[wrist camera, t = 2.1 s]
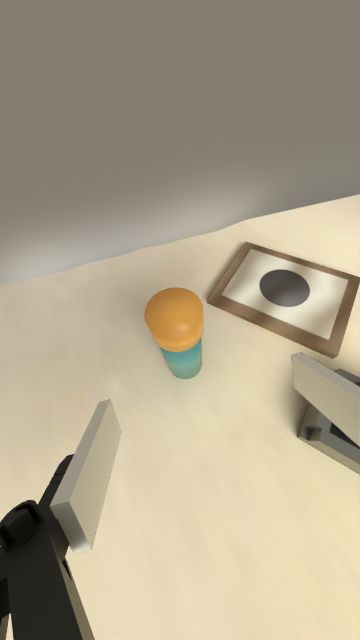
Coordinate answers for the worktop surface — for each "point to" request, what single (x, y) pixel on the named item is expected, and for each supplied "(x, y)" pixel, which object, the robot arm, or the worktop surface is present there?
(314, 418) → the button housing
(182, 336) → the orange-topped post
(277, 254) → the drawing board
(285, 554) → the worktop surface
